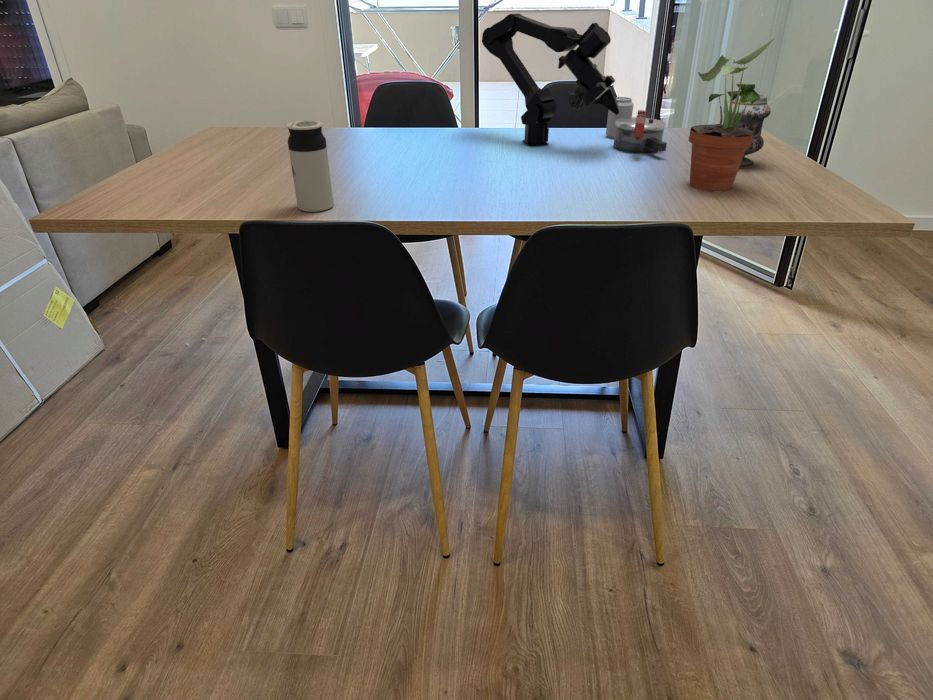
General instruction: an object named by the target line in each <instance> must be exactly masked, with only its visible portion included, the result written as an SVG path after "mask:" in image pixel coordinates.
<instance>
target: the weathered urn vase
mask: <svg viewBox="0 0 933 700" xmlns="http://www.w3.org/2000/svg"><path fill="white" fill-rule="evenodd" d="M757 93H758V95H759V97H760V99H759V100H757V101H754V102H753V104H751V102H750V99H749V101H747V102H748V104H747V102H745V103H743V102H740V106H739V112H738V118H739V117H740V116H741V114H742V112H743V110H744V108H745V106H746V104H747V106H746V108H745V110H744V113H743V115H742V117H741V120H740V121H739V122H738V123H737V125H736V126H737V127H742V128H746V129H749V130H752V131H753V132H754V135H753V139H752V142H751V146H750V147H747V148H746V151H745V153H744V156H743V159H742V161H741V164H740V167H739V169H744V168H746V169H747V168H751V167H754V165H755V161H753V160H752V159H750V158H748V157H746V156H748V155H751V154H755V153H757V152H758V151H761V149H762V148H763V147H764V143H765V142H764V138H763V136H761V135H762V130H763V124H764V122H765V121H764V120H765V119H767V118H768V117H769V116H770V114H771V113H772V107H771V106H770V104H769V103H768V95H767V94H765V93H759V92H757ZM736 98H737V97H736ZM740 98H741V96H739V99H738V104H737V109H736V114H735V118H734V123H735V119H736V115H737V110H738V105H739V101H740ZM735 102H736V99H735V100H732V113H733V110H734V106H735ZM727 104H728V111H729V106H730V101H729V102H728V101H727ZM722 113H724V107H722ZM738 118H737V120H738ZM730 121H731V120H730Z"/></svg>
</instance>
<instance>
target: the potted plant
mask: <svg viewBox="0 0 933 700" xmlns="http://www.w3.org/2000/svg"><path fill="white" fill-rule="evenodd" d="M774 40H775V39H774V38H773V39H771V40H769V41H768V42H767V43H765V44H764V45H762V46H760V47H759V48H757V49H756V50H755V51H753V52H752V53H750V54H748V55H746V56H745V57H742V58H741V59H738V58H737V57H736V56H733V57H731V58H726V57H725V56H724V55H723V54H721V56H719V58H718V60H717V62H716V63H715V65H714V66H713V67H712V68H711V69H710V70H709V71H707V72H704V73H700V72H699V71H698V72H697V74H698V76H699V77H700V78H701V80H702V81H704V82H711V81H712V80H714V79H715V78H716V77H717V76H718V75H719V74H721V75H723V76H728V75H731V74H732V78H731V90H730V91H727V78H724V79H725V83H724V84H725V86H724V87H725V88H724V94H722V93H720V94H719V93H711V94H709V97H708V101H707V102H708V103H711V102H712V101H713V100H714V99H715V100H716V99H717V98H718V99H719V103H721V97H722V96H724V106H723V107H722V106H721V105H719V111H720V113H719V114H720V120H719V123H714V124H699V125H694V126H691V127H690V129H689V136H688V142H689V143H691V152H690V153H691V156H690V172H689V185H690V186H692V187H694V188H695V189H696V190H699V189H701V190H700V191H704V190H706V191H705V192H714V191H721V192H725V191H728V190H729V189H732V187H733V185H734V182H735V180H736V177H737V174H738V171H739V169H740V168H739V167H740V164H741V161H742V159H743V156H744V153H745V151H746V148H747V147H750V146H751V142H752V139H753V135H754V132H753V131H752V130H749V129H746V128H742V127H737V126H736V125H737V123H738V122H739V121H740V120H741V117H742V115H743V113H744V110H745V108H746V106H747V104H748V102H747V101H749V99H750V102H751V104H753V102H754V101H757V100H759V99H760V97H759V95H758V93H759V92H757V91H756V90H755V89H756V84H755V83H753V84H752V83H750V84H749V83H742V81H743V76H744V71H745V70H746V69H748V68H749V67H751V65H750V66H748V67H746V64H748V63H750V62H751V61H754V59H756V58H758V57H759V56H760V55H761V54H762V53H763V52H764V51H765V50H766V49H767V48H768V47H769V46H770V45H771V43H772V42H773V41H774ZM737 59H738V60H737ZM730 60H731V61H733V62H732V64H736V65H741V66H743V67H740V66H737V67H733V66H729V65H727V64H728V62H730ZM741 72H742V73H741ZM739 73H741V77H740V81H739V82H740V83H737V84H736V86H737V88H738V90H735V91H734V74H739ZM727 94H728V96H729V98H730V99H729V102H730V106H729V111H728V104H727V103H728V99H727V97H728V96H727ZM739 96H741V98H740V101H739V105H738V110H737V115H736V119H735V123H734V118H735V114H736V109H737V104H738V99H739ZM736 97H737V98H736ZM735 99H736V102H735V106H734V110H733V113H732V100H735ZM740 102H743V103H745V102H747V104H746V106H745V108H744V110H743V112H742V114H741V116H740V117H739V118H738V112H739V106H740ZM723 108H724V112H723ZM737 118H738V120H737ZM730 120H731V121H730Z"/></svg>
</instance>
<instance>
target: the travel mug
mask: <svg viewBox="0 0 933 700" xmlns="http://www.w3.org/2000/svg"><path fill="white" fill-rule="evenodd" d="M323 125H324V124H323V122H321V121H319V120H308V119H307V120H306V119H304V120H296V121H292V122H291V121H290V122H288V123H287V124H286V128H287V129H288V130H287V131H288V133H289V136H288V139H287V147H288V153H289V159H290V160H289V161H290V166H291V172H292V179H293V185H294V192H295V199H296V200H295V201H296V205H297V208H298V210H300V211H304V212H307V213H319V212H324V211H327V210H329V209H331V208H333V207H334V197H333V196H334V195H333V189H332V179H331V172H330V163H329V155H328V148H327V147H328V146H327V139H326V137H325V135H324V134H323V131H322V129H323Z"/></svg>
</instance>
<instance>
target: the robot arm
mask: <svg viewBox="0 0 933 700" xmlns="http://www.w3.org/2000/svg"><path fill="white" fill-rule="evenodd" d="M517 32H519V33H521V34H523V35H526V36H529V37H532V38H534V39H536V40H539V41H541V42H543V43H544V44H545V45H546V47H547V48H549V49H551V50H552V51H553V52H556V53H563V52H567V53H566V54H565V55H561V56H559V57H558V67H557V68H558V69H562V68H563V67H564V66H566V67H567V68H568V70H569V71H570V72H571V74H572V75H573V76H574V77H575V78H576V80H575V81H576V84H577V88H576V90H575V91H574V92H572V93H569V95H567V98H566V99H567V101H568V105H569V106H570V108H575V110H580V109H582V107H583V105H584V104H585V105H586V106H587V107H588V106H589V105H591V104H593V105H602V106H603V107H605V108H606V109H607V110H608V111H609V110H610V111H612V112H613V113H614V114H616V115H617V114H618V113H619V112H620V111H619V107H618V103H617V99H616V97H617V96H616V92H615V88H614V85H613V84H614V83H615V82H616V79H615V77H614V76H613V75H606V76H605V75H602V73H601V71H599V69H598V65H597V64H596V63H593V61H592V60H591V59H595V58H596V57H597V56H598V55H599V54H600V53H602V51H603V50H604V49H605V48H606V47H607V46H608V45H609V44H610V43H611V40H612V39H611V36H610V34H609V32H608V31H606V30H605V29H604V28H603V27H601V26H600V25H599V24H598V22H592V23H591V24H590V25H589V26H588V29H586V31H584V33H582V34H580V33H578V31H577V30H576V29H575V28H573V27H566V26H552V25H549V24H547V23H545V22H544V23H543V22H541V21H538V20H535V19H533V18H530V17H527V16H524V15H522V14H521V13H508V14H507V15H506V16H505V17H504V18H503V19H501V20H499V21H498V22H496V23H495V24H493V25H491V26H490V27H487V28H485V29H484V30H483V32H482V36H481V43H482V45H483V47H484V48H485V49H486V50H487V51H488V53H490V54H491V55H493V56H495V57H496V58H498V59H499V60H500V62H501V63H502V65H503V66H504V68H505V70H506V71H507V72H508V74H509V75H510V77H511V79H512V80H513V81H514V83H515V84H516V86H517V88H518V89H519V91H520V92H521V94H522V96H523V97H524V102H525V103H524V105H525V108H526V111H525V112H524V113H523V114H522V115H521V117H520V119H521V123H522V125H524V139H523V140H522V143H523V144H525V145H527V146H528V147H535V146H549V143H548V142H549V132H550V131H549V130H550V129H549V127H548V123H550V122H551V121H552V119H553V117H554V115H555V113H556V111H557V102H556V101H555V100H556V97H554V96H553V94H552V92H551V91H550V89H549V88H548V87H546V88H540V87H539V86H538V84H537V83H536V82H535V80H534V78H533V76H532V75H531V74H530V72H529V71H528V69H527V68H526V66H525V65H524V63H523V62H522V60H521V59H520V57H519V56H518V54H517V53H516V51H515V50H514V45H513V44H514V43H513V37H515V36H516V34H517ZM577 46H578V47H577ZM576 47H577V48H576ZM590 58H591V59H590ZM593 101H594V102H593Z"/></svg>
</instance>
